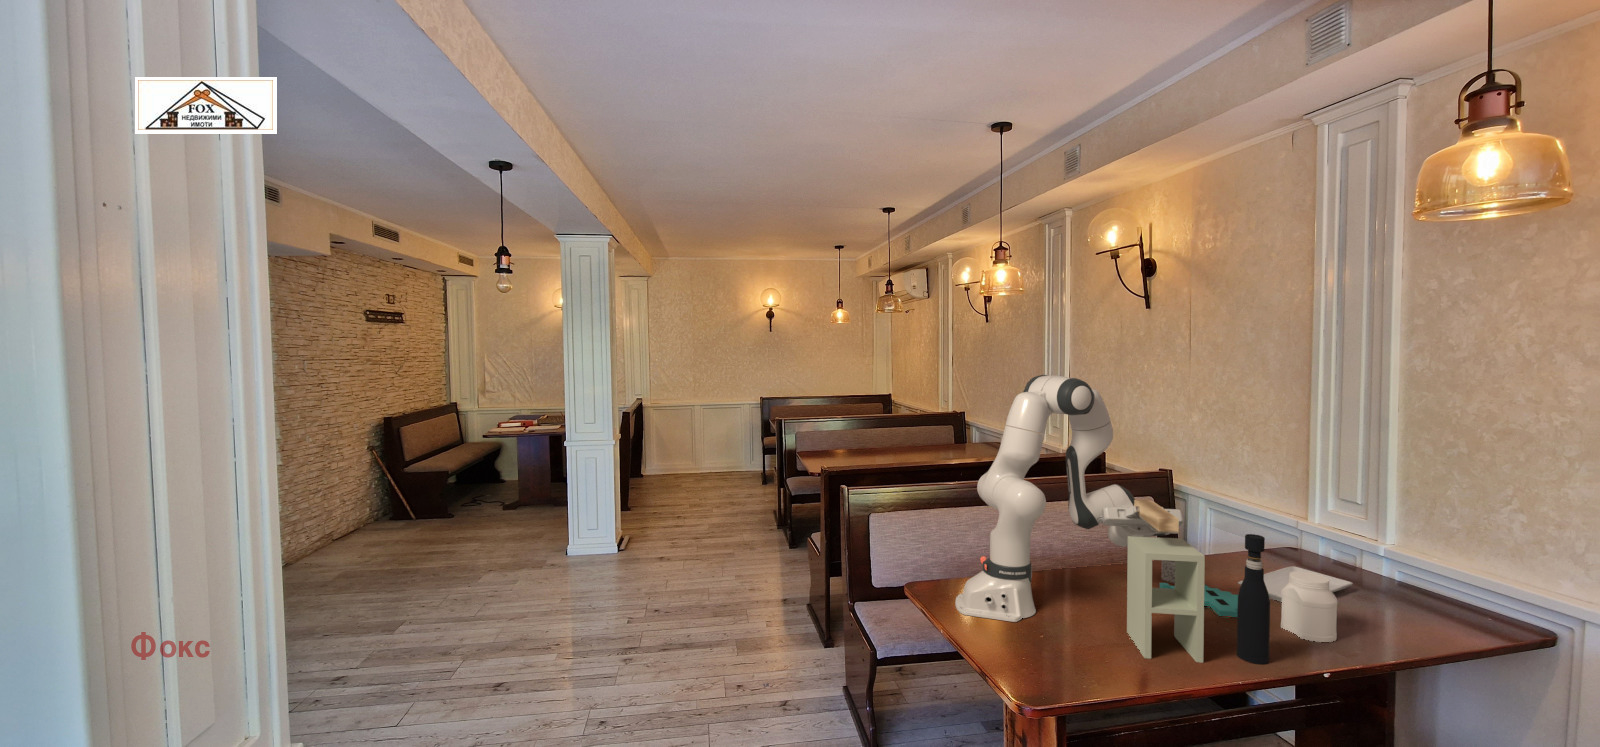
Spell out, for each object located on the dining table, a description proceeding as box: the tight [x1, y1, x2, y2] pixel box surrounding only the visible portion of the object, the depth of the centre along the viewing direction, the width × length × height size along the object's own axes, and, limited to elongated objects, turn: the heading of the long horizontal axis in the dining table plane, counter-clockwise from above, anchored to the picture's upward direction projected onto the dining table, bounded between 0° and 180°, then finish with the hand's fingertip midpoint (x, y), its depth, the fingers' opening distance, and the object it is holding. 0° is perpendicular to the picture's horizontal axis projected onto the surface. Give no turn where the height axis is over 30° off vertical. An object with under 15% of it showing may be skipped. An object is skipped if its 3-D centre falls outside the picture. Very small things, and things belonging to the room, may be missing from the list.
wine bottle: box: [1236, 533, 1271, 665], centre depth 154 cm, size 6×6×30 cm
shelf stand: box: [1126, 536, 1206, 664], centre depth 160 cm, size 13×14×26 cm
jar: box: [1280, 571, 1338, 643], centre depth 167 cm, size 12×10×15 cm
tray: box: [1237, 565, 1354, 603], centre depth 195 cm, size 17×32×4 cm, turn 116°
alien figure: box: [1159, 582, 1238, 617], centre depth 188 cm, size 20×2×20 cm
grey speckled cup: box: [1160, 560, 1175, 584], centre depth 208 cm, size 10×7×7 cm
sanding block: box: [1134, 499, 1180, 535], centre depth 166 cm, size 4×19×4 cm, turn 169°
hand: (1148, 509), depth 171 cm, fingers closed on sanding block, 4 cm apart
